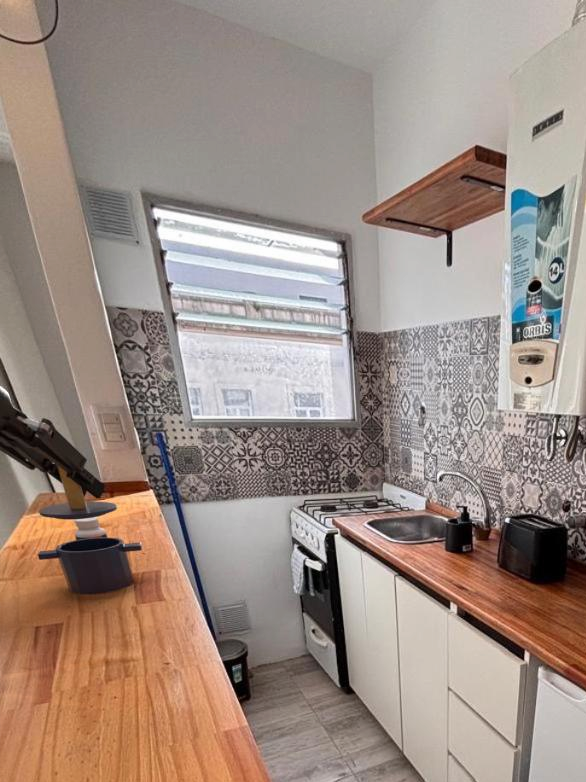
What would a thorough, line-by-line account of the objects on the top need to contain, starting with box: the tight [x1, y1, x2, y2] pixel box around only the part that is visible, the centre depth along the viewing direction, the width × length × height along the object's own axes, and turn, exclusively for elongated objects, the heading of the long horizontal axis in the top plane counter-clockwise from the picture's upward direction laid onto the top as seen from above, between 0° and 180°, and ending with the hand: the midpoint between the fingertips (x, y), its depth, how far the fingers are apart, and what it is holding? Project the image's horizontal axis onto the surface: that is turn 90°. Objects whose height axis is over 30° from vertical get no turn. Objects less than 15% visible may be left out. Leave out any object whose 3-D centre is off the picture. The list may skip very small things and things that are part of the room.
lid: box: [38, 466, 118, 521], centre depth 88 cm, size 11×11×9 cm
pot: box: [37, 536, 143, 595], centre depth 97 cm, size 10×16×8 cm, turn 119°
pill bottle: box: [74, 517, 108, 540], centre depth 109 cm, size 5×5×10 cm
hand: (92, 491), depth 92 cm, fingers closed on lid, 2 cm apart
